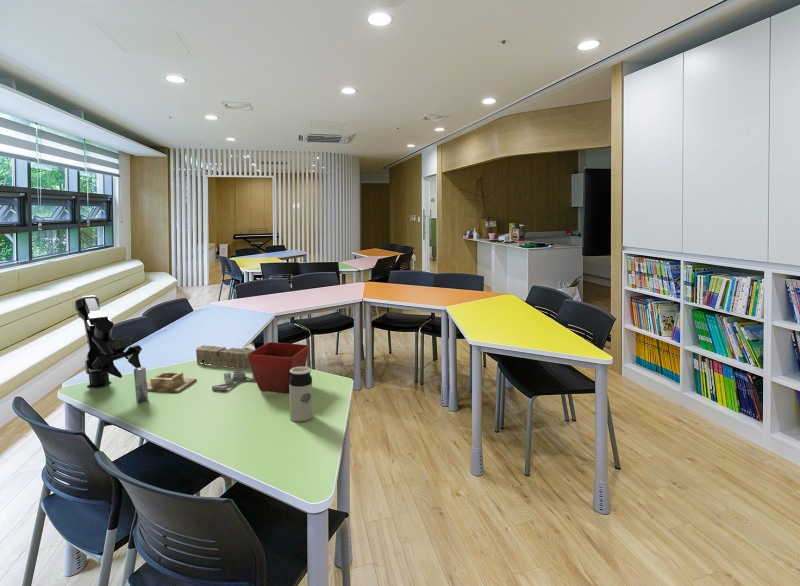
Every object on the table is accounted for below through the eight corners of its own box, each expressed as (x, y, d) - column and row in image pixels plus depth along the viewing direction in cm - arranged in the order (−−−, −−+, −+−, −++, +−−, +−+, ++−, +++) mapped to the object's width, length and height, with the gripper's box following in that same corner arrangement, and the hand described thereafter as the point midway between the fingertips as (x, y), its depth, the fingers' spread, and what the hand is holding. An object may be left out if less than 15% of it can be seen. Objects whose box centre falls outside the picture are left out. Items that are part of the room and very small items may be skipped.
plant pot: (292, 398, 187) (291, 357, 185) (248, 394, 191) (246, 354, 188) (310, 381, 206) (309, 344, 203) (270, 378, 210) (269, 342, 207)
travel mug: (288, 415, 171) (286, 367, 168) (309, 411, 174) (308, 365, 172) (292, 423, 164) (291, 374, 161) (315, 420, 167) (314, 371, 164)
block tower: (194, 365, 229) (246, 369, 222) (193, 349, 228) (245, 352, 220) (205, 361, 237) (255, 364, 229) (203, 344, 236) (254, 348, 228)
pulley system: (205, 385, 203) (214, 394, 191) (204, 374, 202) (214, 382, 190) (266, 375, 219) (279, 383, 207) (266, 365, 219) (278, 372, 207)
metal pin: (134, 402, 181) (131, 370, 179) (140, 398, 185) (138, 367, 183) (143, 403, 180) (141, 370, 178) (150, 399, 184) (147, 367, 182)
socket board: (137, 390, 193) (136, 380, 193) (158, 379, 207) (157, 369, 206) (178, 392, 192) (177, 382, 191) (196, 380, 205) (196, 371, 205)
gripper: (95, 336, 172) (121, 367, 170) (136, 325, 190) (160, 354, 188) (80, 354, 175) (106, 386, 174) (122, 342, 193) (146, 370, 192)
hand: (131, 373), depth 182 cm, fingers open, 9 cm apart
